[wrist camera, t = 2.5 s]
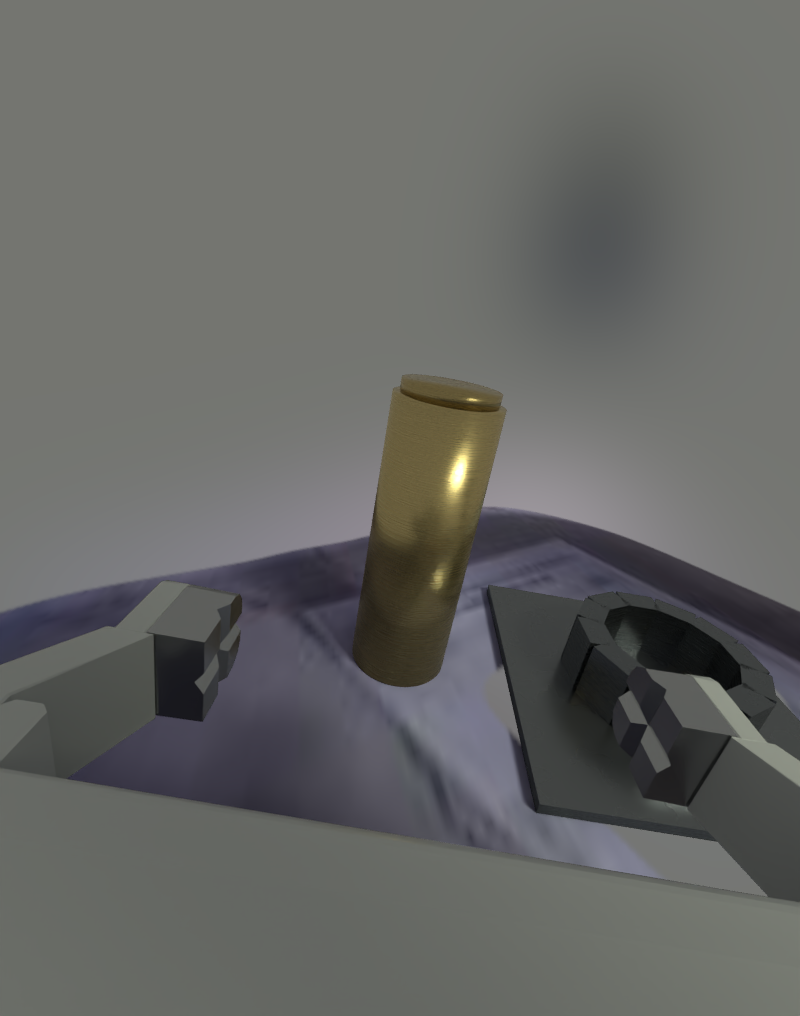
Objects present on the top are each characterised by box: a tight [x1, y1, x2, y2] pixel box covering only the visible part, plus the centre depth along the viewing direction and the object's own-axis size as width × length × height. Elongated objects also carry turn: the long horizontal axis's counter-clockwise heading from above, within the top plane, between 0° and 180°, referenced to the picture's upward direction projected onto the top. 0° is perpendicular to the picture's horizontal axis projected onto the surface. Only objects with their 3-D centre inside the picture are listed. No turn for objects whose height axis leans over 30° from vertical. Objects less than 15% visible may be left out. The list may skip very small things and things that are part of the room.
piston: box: [352, 374, 507, 687], centre depth 23 cm, size 5×5×15 cm
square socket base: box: [487, 585, 800, 841], centre depth 25 cm, size 16×16×4 cm
